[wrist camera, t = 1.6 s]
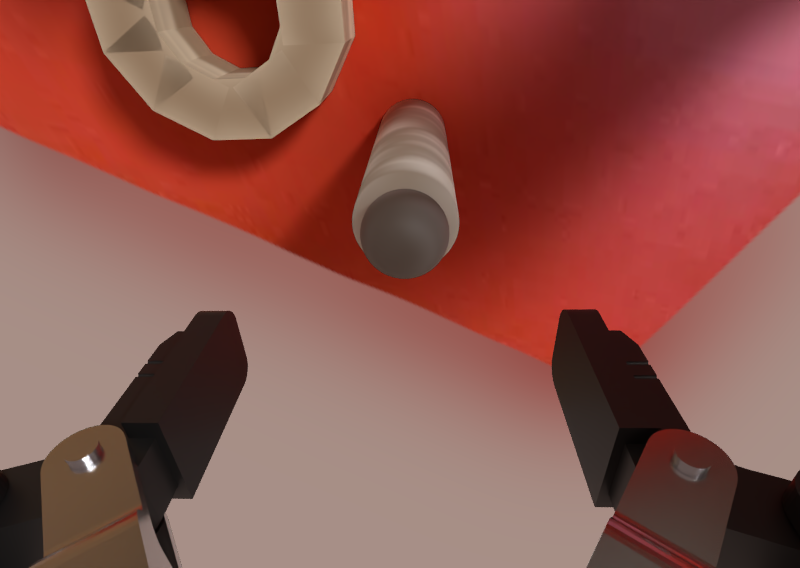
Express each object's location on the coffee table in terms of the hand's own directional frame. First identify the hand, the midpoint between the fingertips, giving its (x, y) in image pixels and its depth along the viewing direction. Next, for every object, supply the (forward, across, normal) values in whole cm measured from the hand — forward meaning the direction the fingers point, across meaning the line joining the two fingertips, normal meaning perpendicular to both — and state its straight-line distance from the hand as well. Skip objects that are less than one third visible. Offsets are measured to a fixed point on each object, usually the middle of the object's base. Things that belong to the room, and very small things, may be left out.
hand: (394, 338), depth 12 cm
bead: (+20, +9, -7) cm, 23 cm away
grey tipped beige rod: (+20, 0, 0) cm, 20 cm away
